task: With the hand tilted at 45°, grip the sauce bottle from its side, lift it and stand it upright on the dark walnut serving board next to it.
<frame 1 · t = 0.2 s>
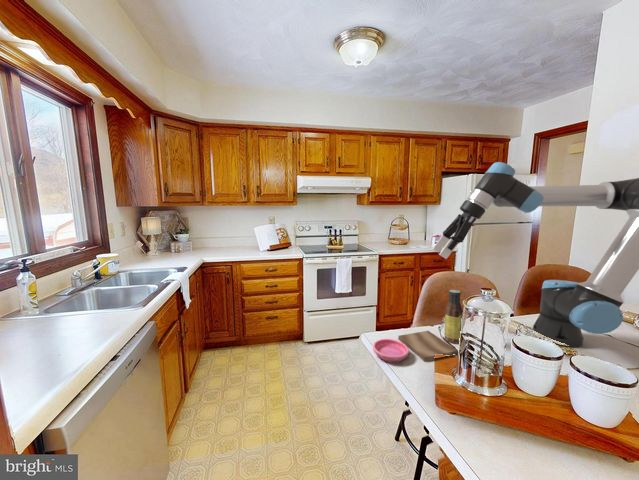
hand: (438, 253, 100), 35 cm above the table, tool tilted 35°, fingers open, 13 cm apart
sauce bottle: (452, 340, 107), on the table
saucer: (390, 355, 97), on the table
walnut serving board: (426, 346, 102), on the table
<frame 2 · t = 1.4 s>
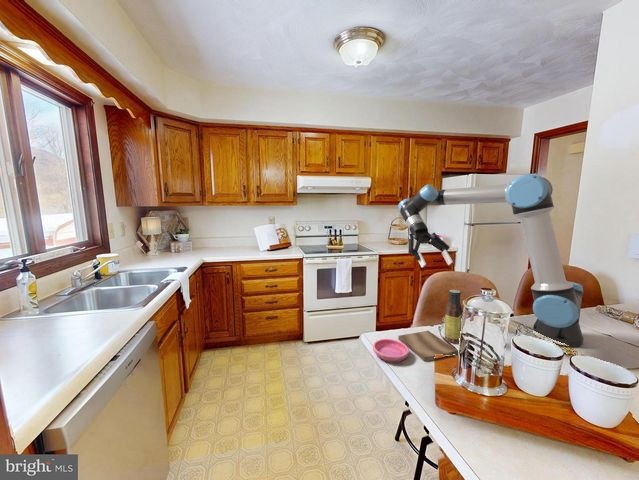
hand: (437, 264, 115), 27 cm above the table, tool tilted 45°, fingers open, 13 cm apart
nothing on the table moved.
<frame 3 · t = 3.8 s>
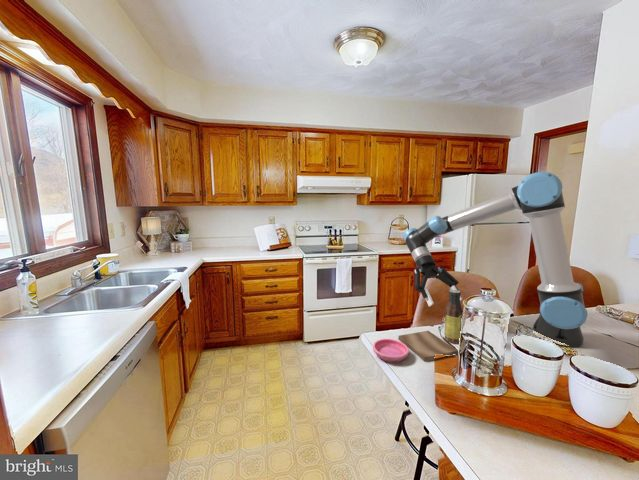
hand: (445, 303, 108), 14 cm above the table, tool tilted 45°, fingers open, 13 cm apart
nothing on the table moved.
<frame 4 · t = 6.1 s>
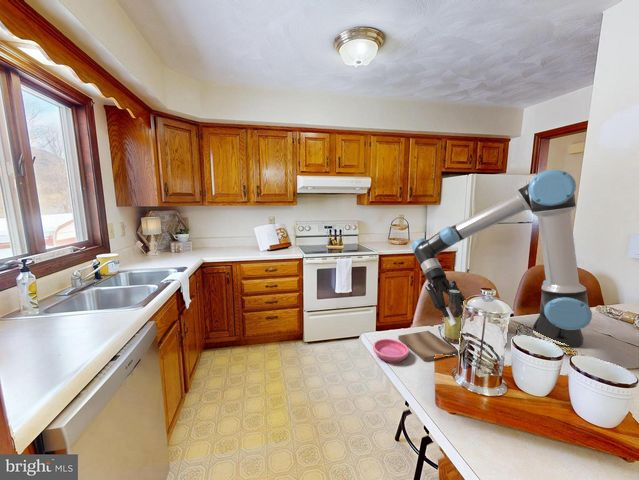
hand: (461, 323, 102), 8 cm above the table, tool tilted 45°, fingers closed on sauce bottle, 6 cm apart
sauce bottle: (452, 340, 107), on the table, touching gripper
everything else where it was.
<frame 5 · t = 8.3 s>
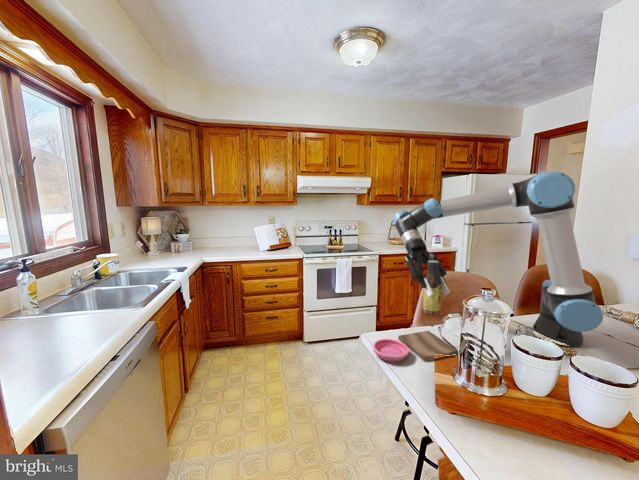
hand: (439, 294, 97), 21 cm above the table, tool tilted 45°, fingers closed on sauce bottle, 6 cm apart
sauce bottle: (431, 313, 102), point 12 cm above the table, touching gripper
everything else where it was.
when the fingers open (11 cm above the table, at t = 10.6 s): sauce bottle drops 1 cm, resting on walnut serving board.
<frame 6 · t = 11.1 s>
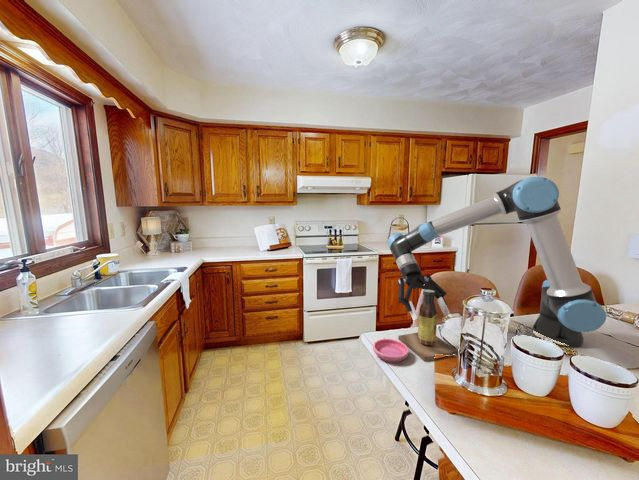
hand: (432, 317, 98), 13 cm above the table, tool tilted 45°, fingers open, 13 cm apart
sauce bottle: (426, 342, 102), point 1 cm above the table, touching walnut serving board
everything else where it was.
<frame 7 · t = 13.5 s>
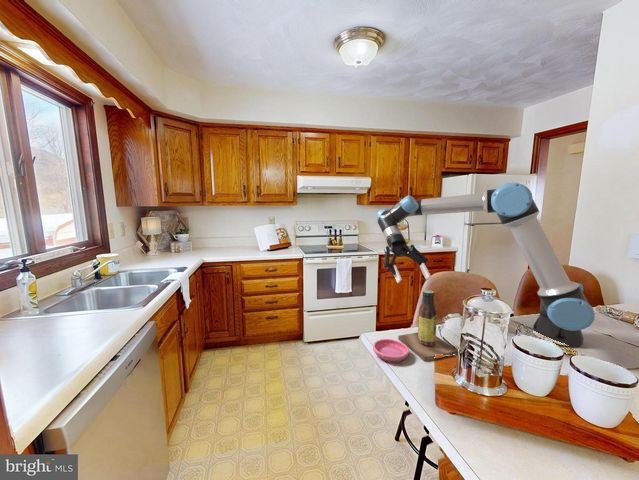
hand: (414, 279, 109), 23 cm above the table, tool tilted 45°, fingers open, 13 cm apart
nothing on the table moved.
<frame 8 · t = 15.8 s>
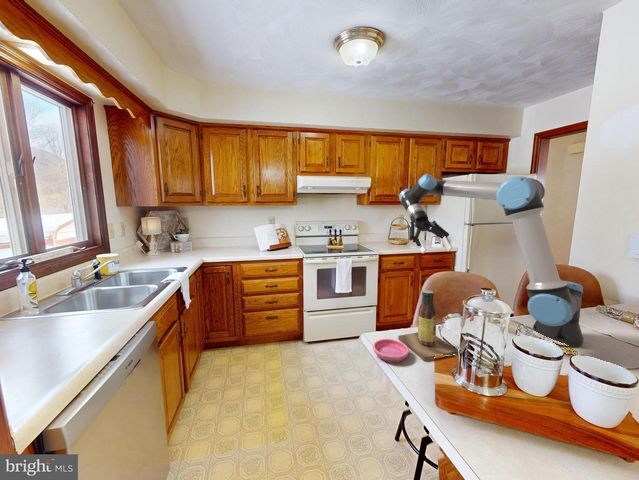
hand: (437, 250, 119), 33 cm above the table, tool tilted 45°, fingers open, 13 cm apart
nothing on the table moved.
at the end: sauce bottle inside the target area on the walnut serving board (0.1 cm from its centre), point 1.3 cm above the walnut serving board's base; sauce bottle tilted 0°; the gripper is holding nothing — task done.
